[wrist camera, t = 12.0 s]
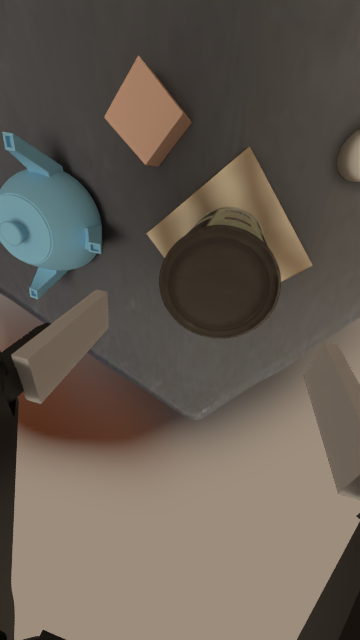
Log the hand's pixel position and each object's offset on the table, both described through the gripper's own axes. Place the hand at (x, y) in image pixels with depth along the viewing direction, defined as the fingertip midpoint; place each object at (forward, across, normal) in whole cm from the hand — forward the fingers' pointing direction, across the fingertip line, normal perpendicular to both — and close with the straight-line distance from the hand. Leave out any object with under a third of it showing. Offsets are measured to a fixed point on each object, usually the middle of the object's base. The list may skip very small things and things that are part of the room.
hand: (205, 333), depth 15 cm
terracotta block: (+23, -11, +12) cm, 28 cm away
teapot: (+23, -25, -1) cm, 34 cm away
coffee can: (+21, 0, 0) cm, 21 cm away
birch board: (+22, 0, 0) cm, 22 cm away
